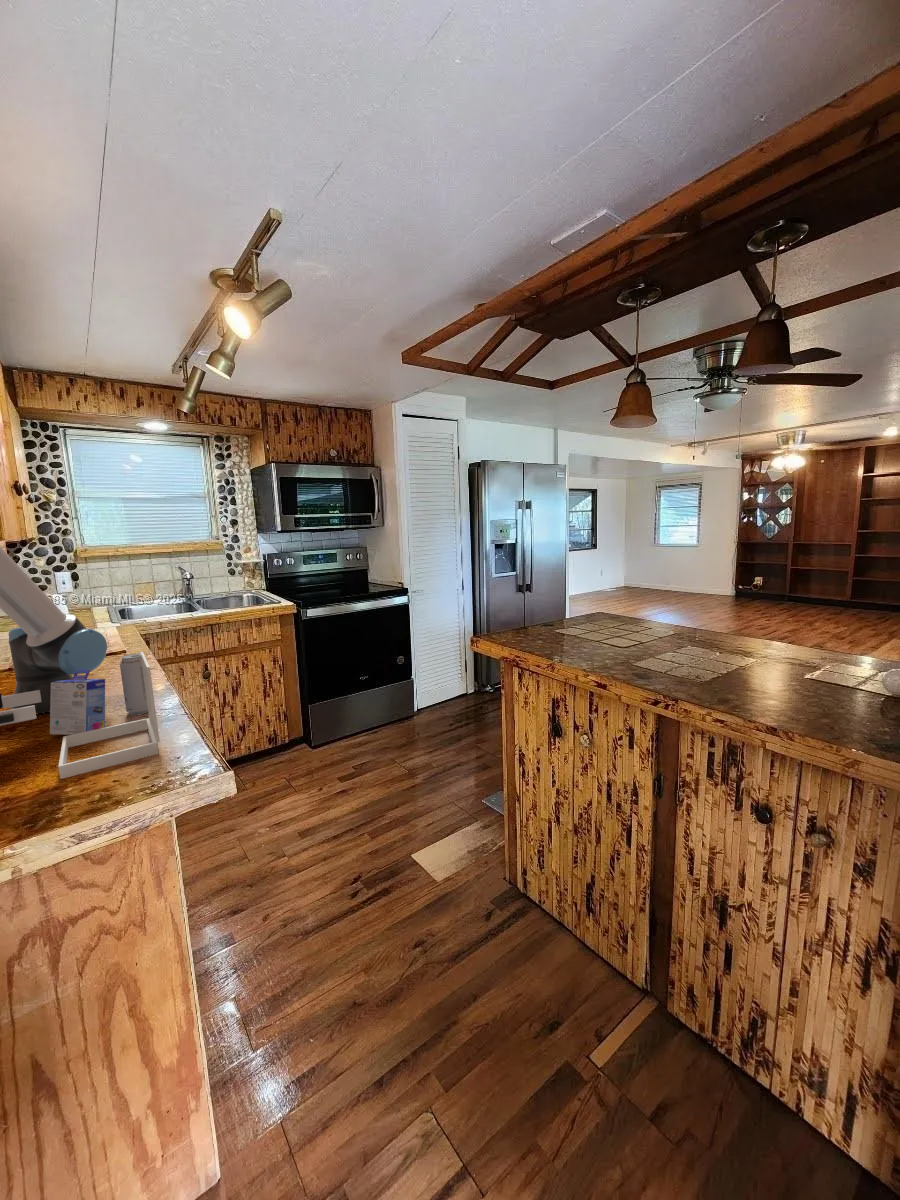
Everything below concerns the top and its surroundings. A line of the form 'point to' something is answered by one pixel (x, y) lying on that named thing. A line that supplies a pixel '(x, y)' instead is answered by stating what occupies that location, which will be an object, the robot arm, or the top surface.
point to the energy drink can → (133, 684)
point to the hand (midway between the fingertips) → (38, 703)
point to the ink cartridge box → (77, 705)
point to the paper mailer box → (111, 732)
